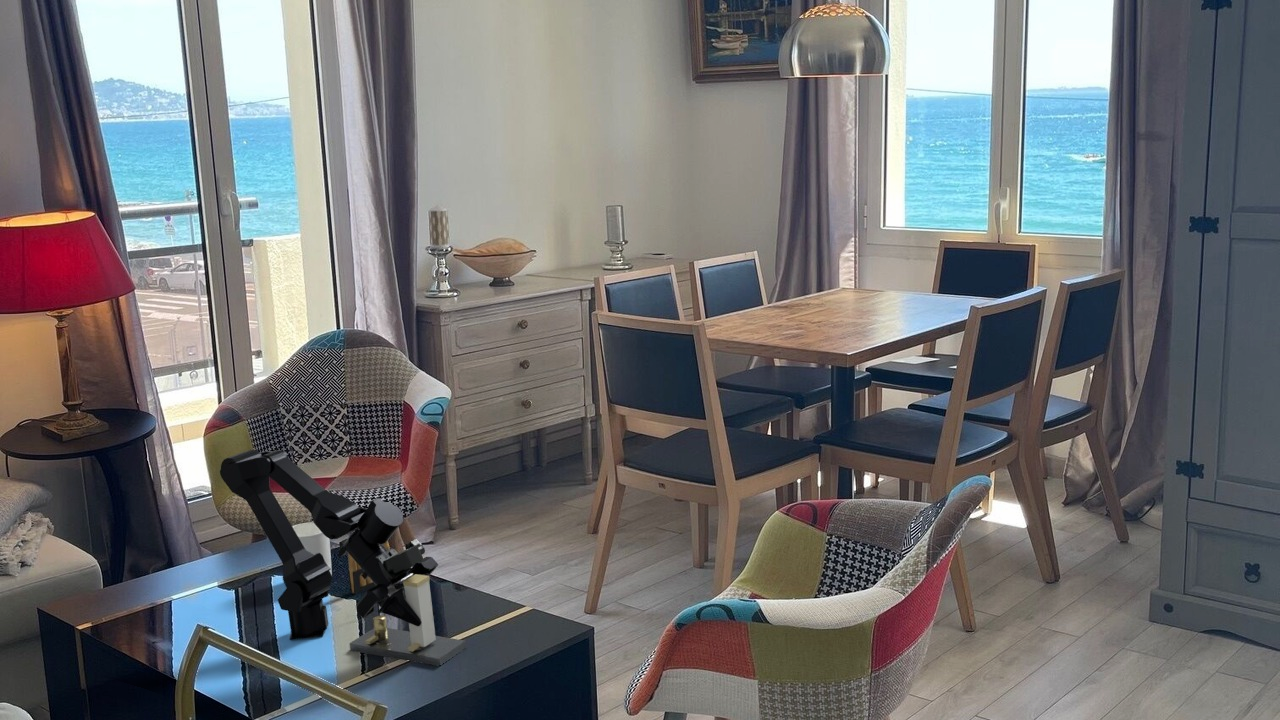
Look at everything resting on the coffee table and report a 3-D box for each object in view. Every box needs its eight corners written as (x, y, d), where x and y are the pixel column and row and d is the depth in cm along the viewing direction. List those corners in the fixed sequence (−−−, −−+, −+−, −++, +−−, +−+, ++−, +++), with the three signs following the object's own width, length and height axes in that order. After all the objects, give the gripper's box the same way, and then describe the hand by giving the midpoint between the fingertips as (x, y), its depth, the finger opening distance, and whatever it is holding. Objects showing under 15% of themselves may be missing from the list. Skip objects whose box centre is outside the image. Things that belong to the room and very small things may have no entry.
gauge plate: (350, 650, 225) (346, 623, 224) (377, 633, 232) (374, 607, 231) (440, 666, 216) (437, 638, 215) (465, 648, 223) (462, 620, 222)
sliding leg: (403, 651, 219) (395, 585, 217) (422, 638, 224) (415, 574, 222) (417, 653, 218) (409, 587, 215) (436, 640, 223) (429, 575, 220)
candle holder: (328, 587, 258) (321, 535, 256) (284, 590, 259) (276, 538, 256) (340, 571, 268) (334, 520, 266) (297, 573, 268) (290, 523, 266)
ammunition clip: (355, 595, 253) (348, 541, 251) (350, 593, 254) (343, 540, 252) (395, 578, 261) (389, 526, 259) (390, 576, 262) (384, 525, 260)
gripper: (360, 549, 211) (417, 615, 208) (424, 515, 228) (478, 576, 225) (332, 586, 216) (387, 650, 214) (396, 550, 233) (448, 610, 230)
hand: (427, 620), depth 220 cm, fingers open, 4 cm apart
